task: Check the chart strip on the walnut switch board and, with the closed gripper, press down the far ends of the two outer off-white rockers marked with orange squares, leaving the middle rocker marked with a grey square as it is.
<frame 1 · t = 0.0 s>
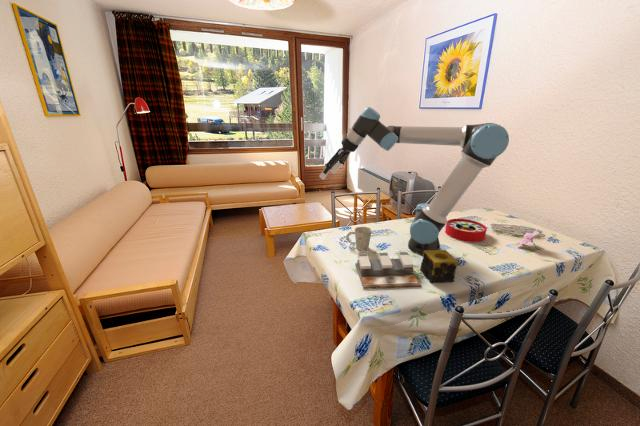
hand: (327, 175, 135), 36 cm above the table, tool tilted 35°, fingers open, 13 cm apart
lily: (526, 247, 141), on the table
mug: (358, 247, 141), on the table
rocker far: (364, 261, 117), point 5 cm above the table, hinge at -12.0°
toy clock: (464, 234, 155), on the table
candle: (436, 276, 116), on the table
rocker near: (405, 260, 118), point 5 cm above the table, hinge at -12.0°
rocker middle: (384, 260, 118), point 5 cm above the table, hinge at -12.0°
switch board: (385, 275, 117), on the table
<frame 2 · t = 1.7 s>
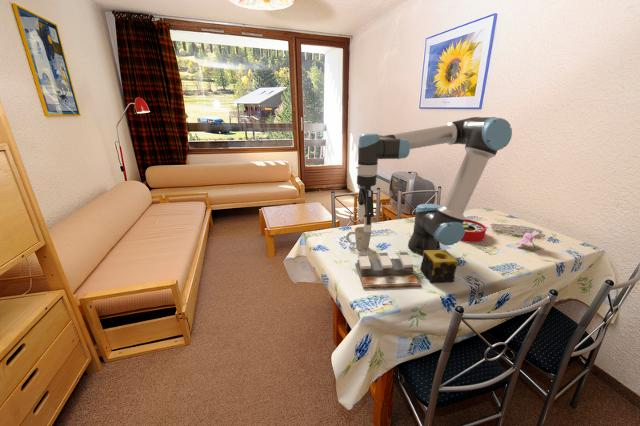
hand: (364, 225, 115), 21 cm above the table, tool pointing down, fingers open, 13 cm apart
nothing on the table moved.
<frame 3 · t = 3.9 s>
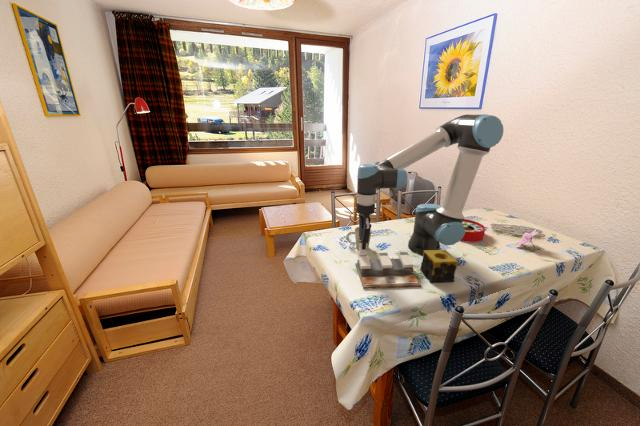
hand: (362, 254, 119), 7 cm above the table, tool pointing down, fingers closed
rocker far: (364, 261, 117), point 5 cm above the table, hinge at -11.7°, touching gripper
everything else where it was.
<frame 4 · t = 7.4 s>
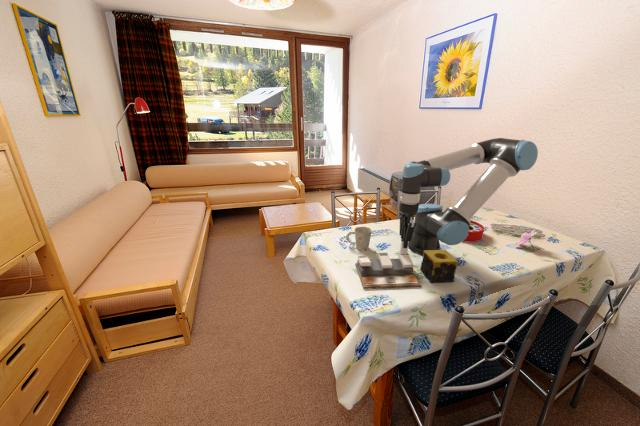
hand: (403, 253, 120), 7 cm above the table, tool pointing down, fingers closed
rocker far: (364, 261, 117), point 5 cm above the table, hinge at 11.0°
rocker near: (405, 260, 118), point 5 cm above the table, hinge at -11.8°, touching gripper
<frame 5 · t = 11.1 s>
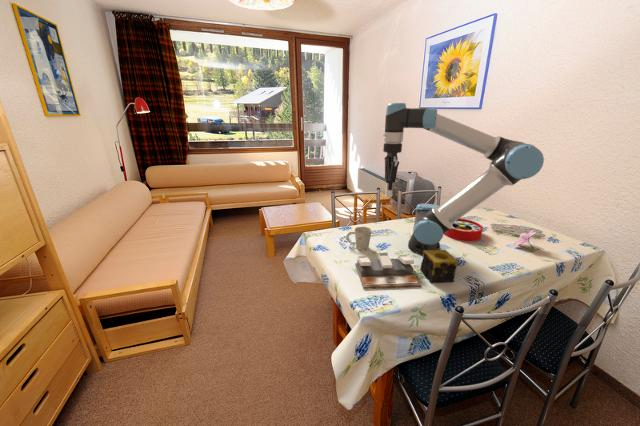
hand: (388, 196, 124), 29 cm above the table, tool pointing down, fingers closed
rocker far: (364, 261, 117), point 5 cm above the table, hinge at 12.4°
rocker near: (405, 260, 118), point 5 cm above the table, hinge at 14.0°
at the end: rocker far at +12° (first picture: -12°); rocker near at +14° (first picture: -12°); rocker middle at -12° (first picture: -12°) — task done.
